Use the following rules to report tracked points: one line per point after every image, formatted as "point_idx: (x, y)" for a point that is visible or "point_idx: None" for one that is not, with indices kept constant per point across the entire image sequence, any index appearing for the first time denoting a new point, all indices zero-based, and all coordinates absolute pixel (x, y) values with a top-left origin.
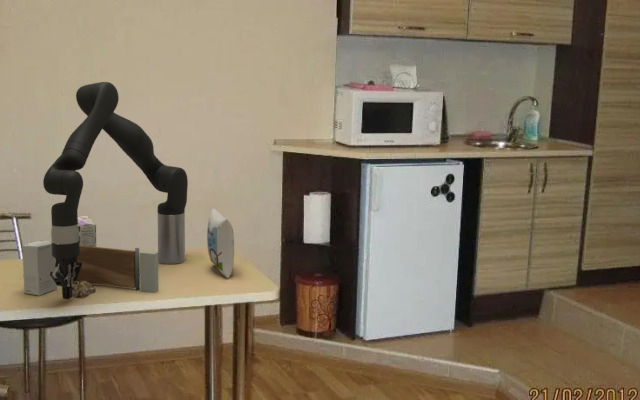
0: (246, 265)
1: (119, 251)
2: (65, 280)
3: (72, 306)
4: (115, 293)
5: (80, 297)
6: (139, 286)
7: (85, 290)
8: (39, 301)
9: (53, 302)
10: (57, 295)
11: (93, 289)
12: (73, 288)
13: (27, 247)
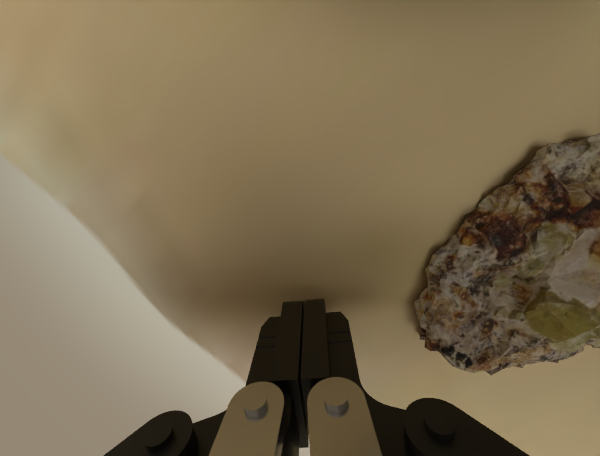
0: None
1: None
2: (323, 454)
3: None
4: (581, 443)
5: (419, 330)
6: None
7: (490, 371)
8: (214, 106)
9: (252, 226)
10: (419, 129)
11: (593, 347)
12: (560, 217)
13: None
